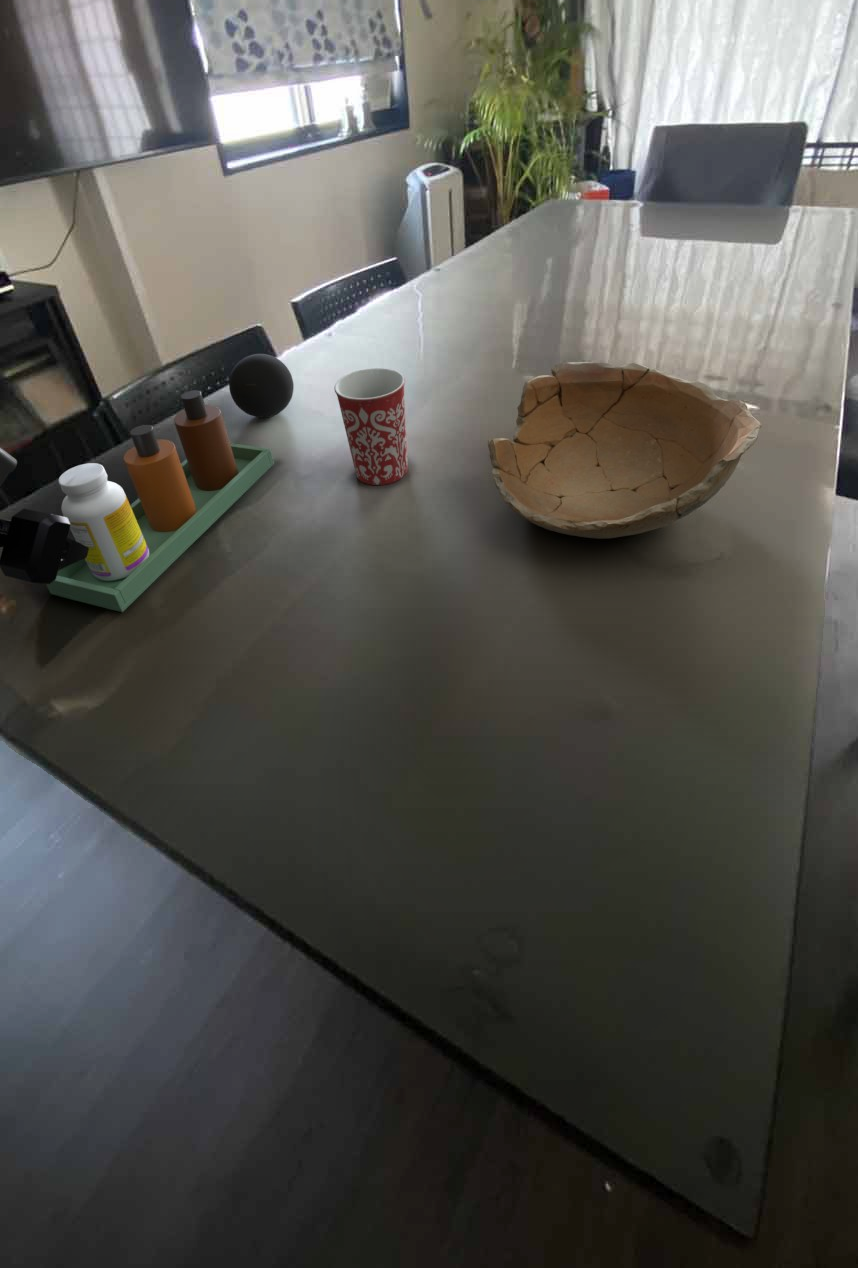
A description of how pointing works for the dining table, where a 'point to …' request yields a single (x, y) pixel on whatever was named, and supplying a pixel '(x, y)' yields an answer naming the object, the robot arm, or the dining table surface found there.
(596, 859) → the dining table surface
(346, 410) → the mug
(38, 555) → the robot arm
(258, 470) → the tray
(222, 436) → the dark amber bottle
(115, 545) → the supplement bottle
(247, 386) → the speaker
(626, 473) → the ceramic bowl
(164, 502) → the amber bottle
